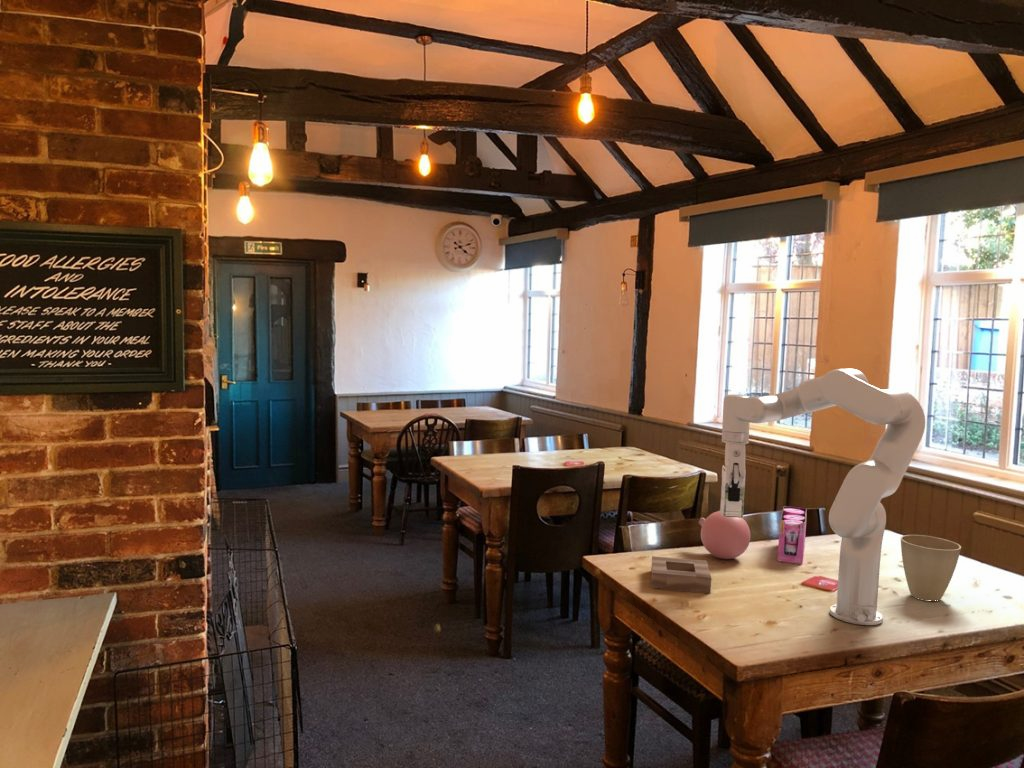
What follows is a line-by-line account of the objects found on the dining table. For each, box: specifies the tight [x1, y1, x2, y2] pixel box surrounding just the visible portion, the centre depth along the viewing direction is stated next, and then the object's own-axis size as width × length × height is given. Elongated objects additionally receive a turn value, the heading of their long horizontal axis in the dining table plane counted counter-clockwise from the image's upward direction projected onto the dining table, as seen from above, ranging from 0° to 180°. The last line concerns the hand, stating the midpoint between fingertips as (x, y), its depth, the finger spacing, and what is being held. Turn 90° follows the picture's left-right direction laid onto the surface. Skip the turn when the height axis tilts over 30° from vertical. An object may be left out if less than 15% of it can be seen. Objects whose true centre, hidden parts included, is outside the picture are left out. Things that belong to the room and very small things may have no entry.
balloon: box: [698, 510, 751, 560], centre depth 249 cm, size 15×20×15 cm
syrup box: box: [719, 464, 747, 519], centre depth 223 cm, size 6×6×14 cm
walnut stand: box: [650, 555, 712, 594], centre depth 222 cm, size 16×16×4 cm
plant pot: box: [900, 534, 962, 601], centre depth 215 cm, size 15×15×16 cm
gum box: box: [776, 505, 808, 565], centre depth 253 cm, size 24×8×14 cm, turn 158°
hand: (732, 498), depth 224 cm, fingers closed on syrup box, 6 cm apart
